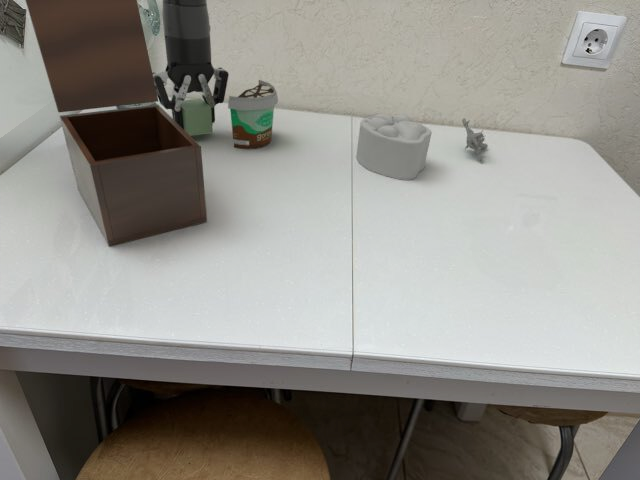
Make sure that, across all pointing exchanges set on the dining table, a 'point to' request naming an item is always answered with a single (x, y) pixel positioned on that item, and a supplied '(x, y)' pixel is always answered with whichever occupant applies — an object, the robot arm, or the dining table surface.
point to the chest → (136, 171)
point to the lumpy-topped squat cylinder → (393, 145)
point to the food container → (253, 116)
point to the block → (196, 117)
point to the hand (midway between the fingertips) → (194, 126)
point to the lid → (93, 52)
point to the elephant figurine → (475, 140)
